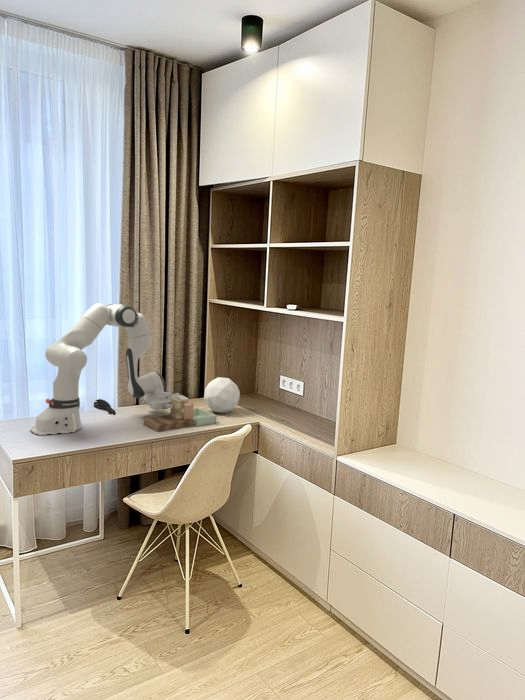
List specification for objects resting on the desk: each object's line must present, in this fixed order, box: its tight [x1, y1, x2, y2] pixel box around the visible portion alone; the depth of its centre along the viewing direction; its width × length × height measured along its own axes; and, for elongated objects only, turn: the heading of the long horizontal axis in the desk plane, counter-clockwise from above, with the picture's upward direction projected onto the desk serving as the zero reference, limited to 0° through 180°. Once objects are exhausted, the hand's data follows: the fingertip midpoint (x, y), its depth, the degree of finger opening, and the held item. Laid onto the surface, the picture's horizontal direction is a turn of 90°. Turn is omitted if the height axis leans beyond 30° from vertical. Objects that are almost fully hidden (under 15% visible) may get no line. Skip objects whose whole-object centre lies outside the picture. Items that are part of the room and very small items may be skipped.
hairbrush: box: [93, 398, 117, 416], centre depth 286 cm, size 8×4×25 cm
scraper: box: [169, 397, 184, 419], centre depth 265 cm, size 3×8×9 cm, turn 38°
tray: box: [193, 407, 217, 427], centre depth 273 cm, size 12×17×4 cm
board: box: [142, 414, 195, 432], centre depth 263 cm, size 20×14×3 cm
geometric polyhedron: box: [203, 376, 241, 414], centre depth 291 cm, size 19×20×20 cm
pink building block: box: [184, 403, 195, 420], centre depth 266 cm, size 5×4×7 cm
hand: (177, 406), depth 265 cm, fingers closed on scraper, 3 cm apart
